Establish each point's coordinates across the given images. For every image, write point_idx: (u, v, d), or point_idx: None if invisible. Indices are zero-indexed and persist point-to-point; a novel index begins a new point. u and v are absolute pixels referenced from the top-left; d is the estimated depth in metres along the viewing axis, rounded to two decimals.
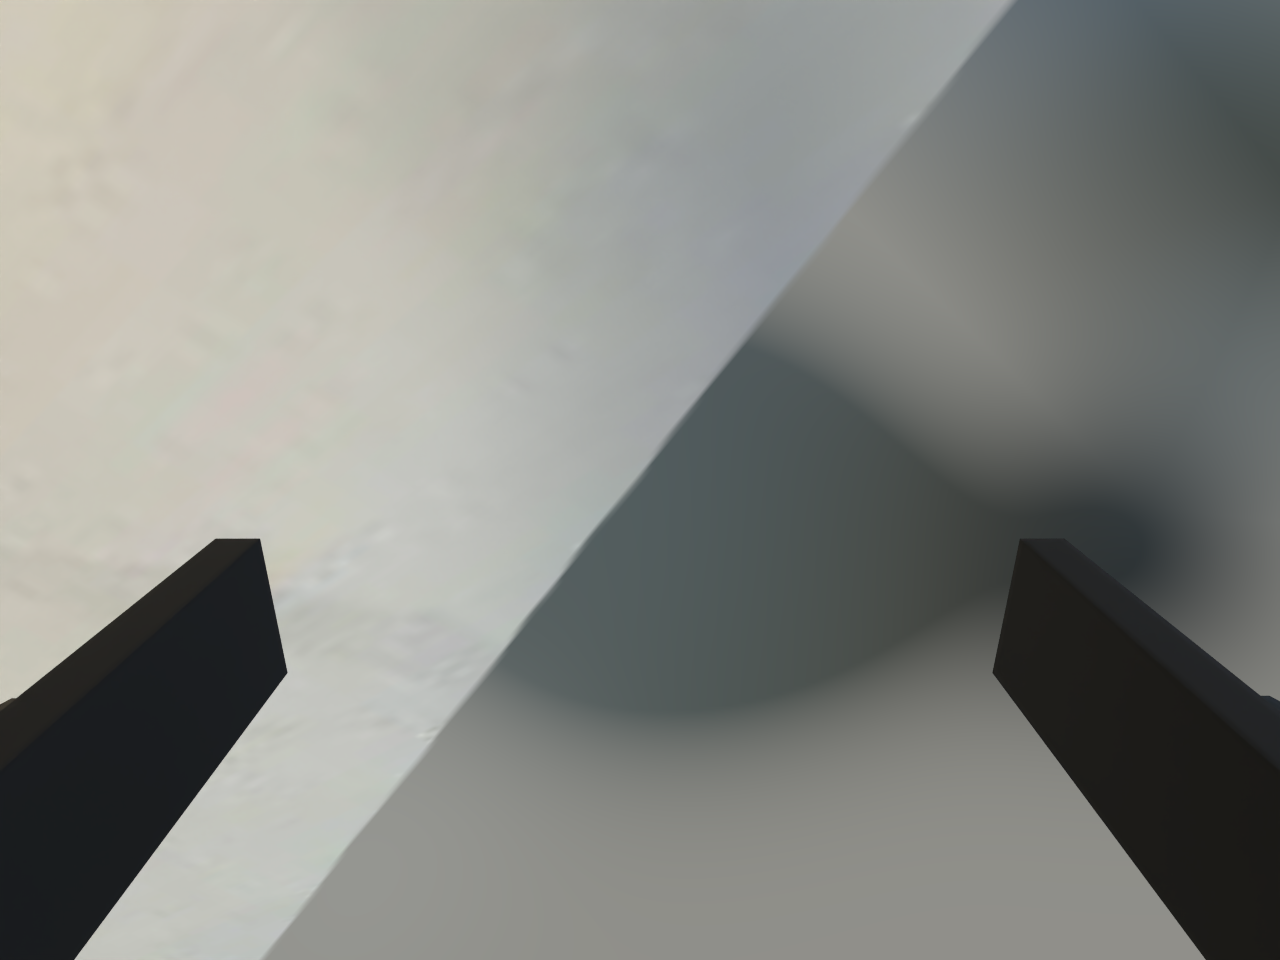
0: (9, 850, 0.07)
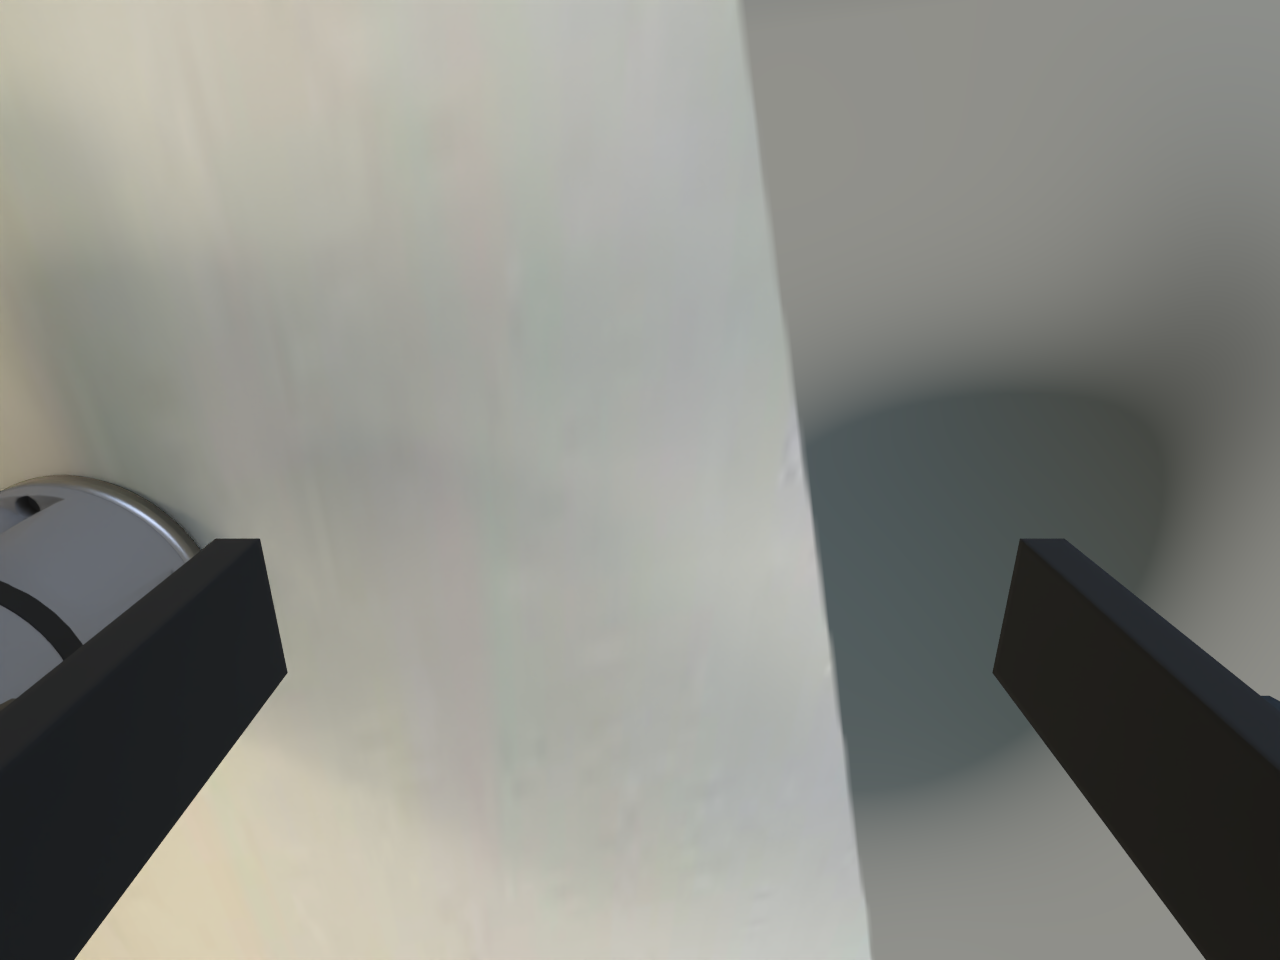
0: (9, 850, 0.07)
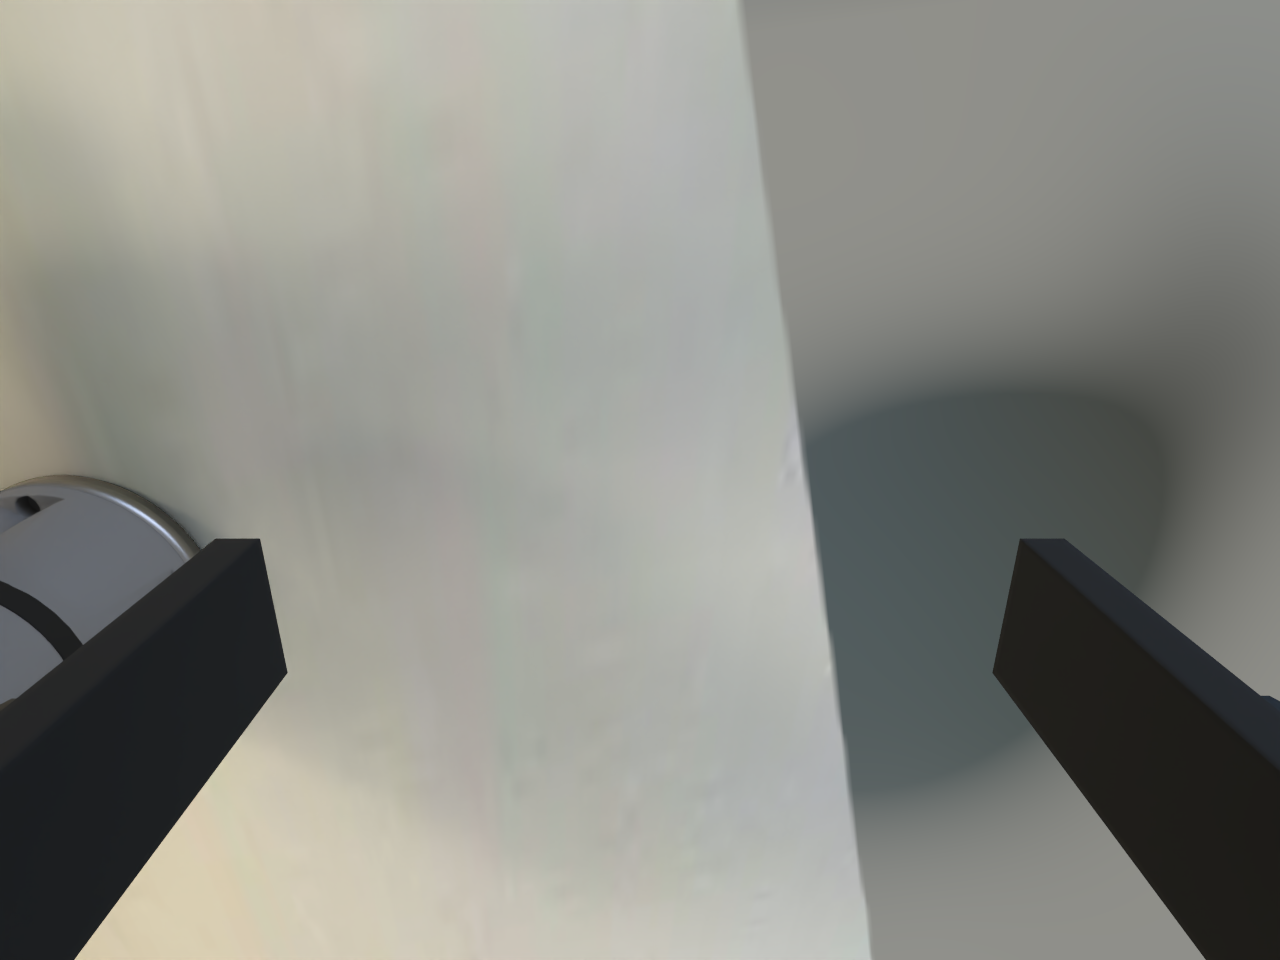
0: (9, 850, 0.07)
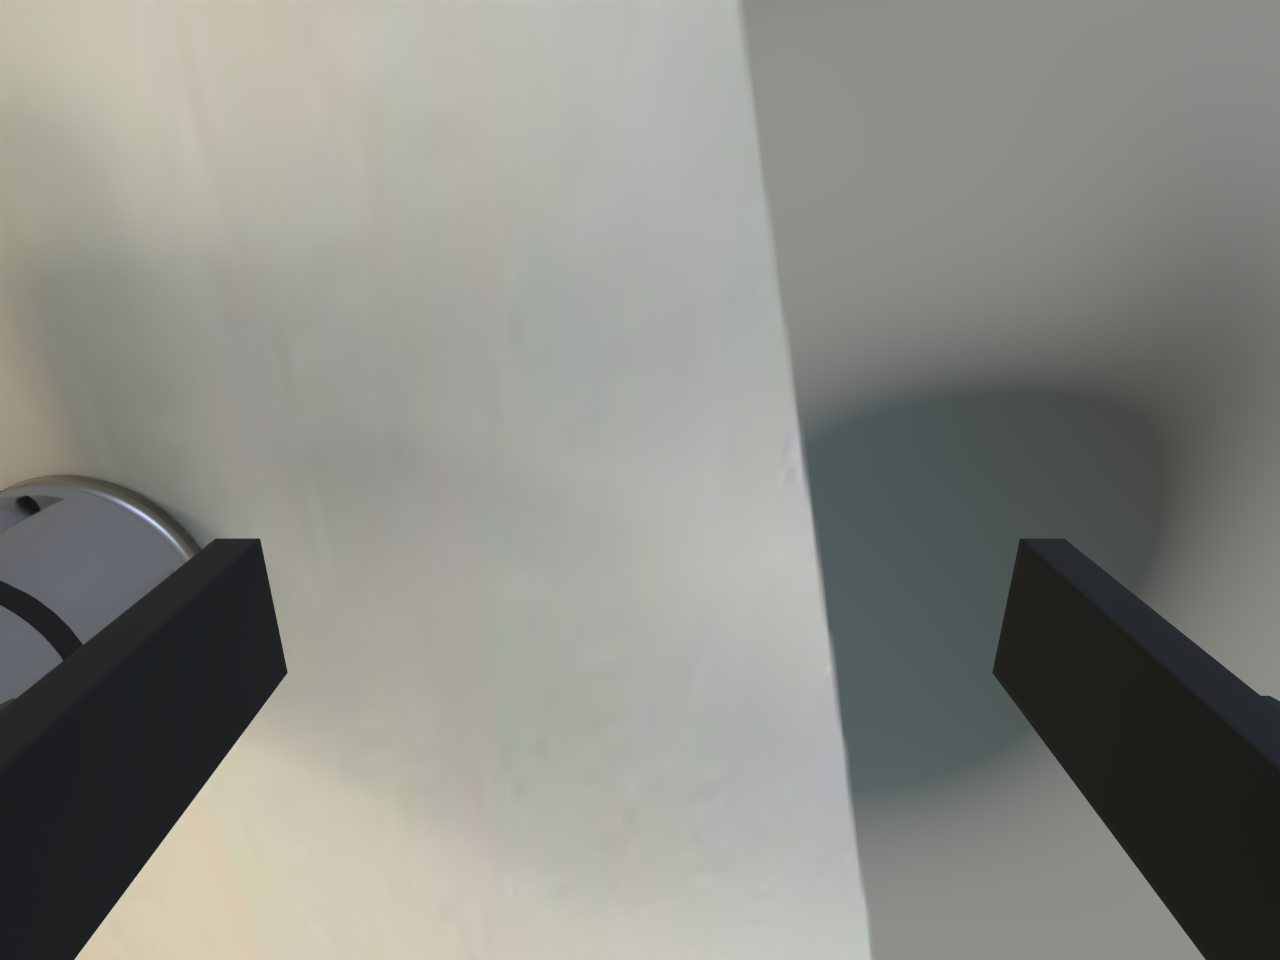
0: (9, 850, 0.07)
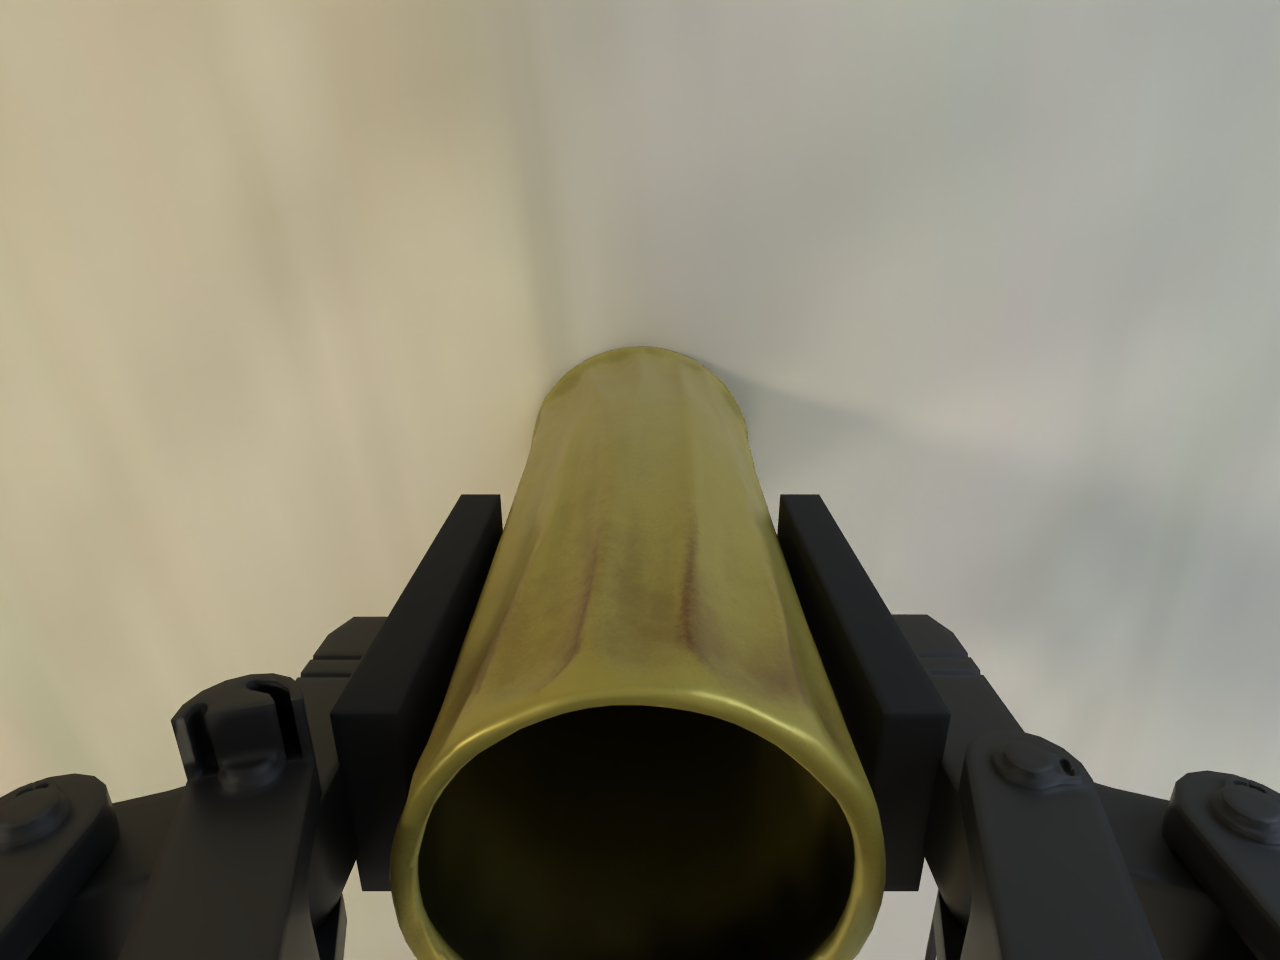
0: (426, 721, 0.09)
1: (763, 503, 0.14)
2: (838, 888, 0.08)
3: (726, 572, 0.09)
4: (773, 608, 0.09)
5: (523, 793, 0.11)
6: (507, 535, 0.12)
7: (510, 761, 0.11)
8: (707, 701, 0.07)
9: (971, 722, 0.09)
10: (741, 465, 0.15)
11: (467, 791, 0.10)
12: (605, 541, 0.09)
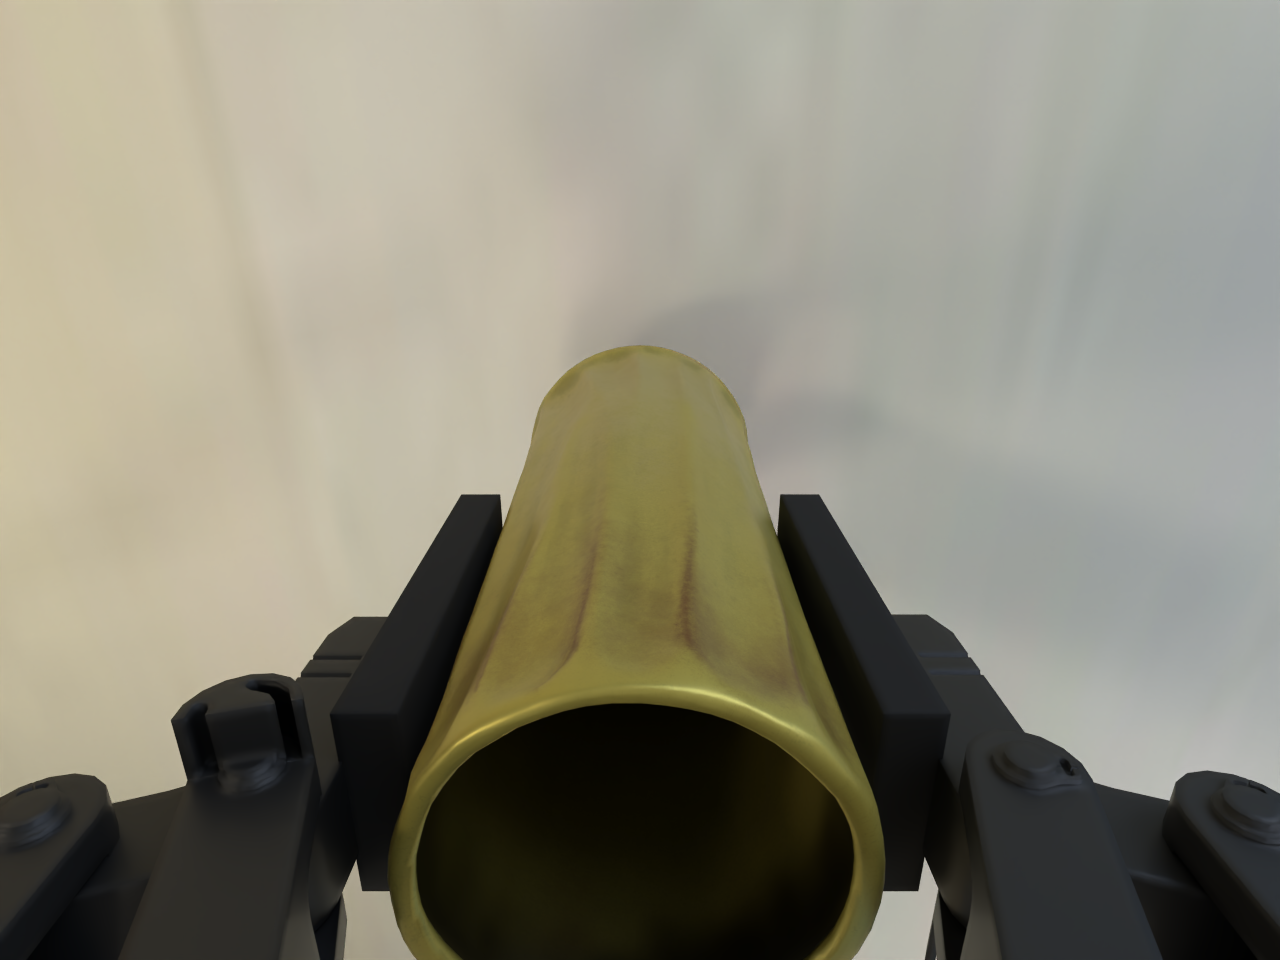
0: (425, 721, 0.09)
1: (763, 502, 0.14)
2: (838, 886, 0.08)
3: (725, 570, 0.09)
4: (772, 606, 0.09)
5: (522, 793, 0.11)
6: (506, 534, 0.12)
7: (509, 759, 0.11)
8: (706, 699, 0.07)
9: (971, 723, 0.09)
10: (741, 464, 0.15)
11: (466, 790, 0.10)
12: (603, 539, 0.09)
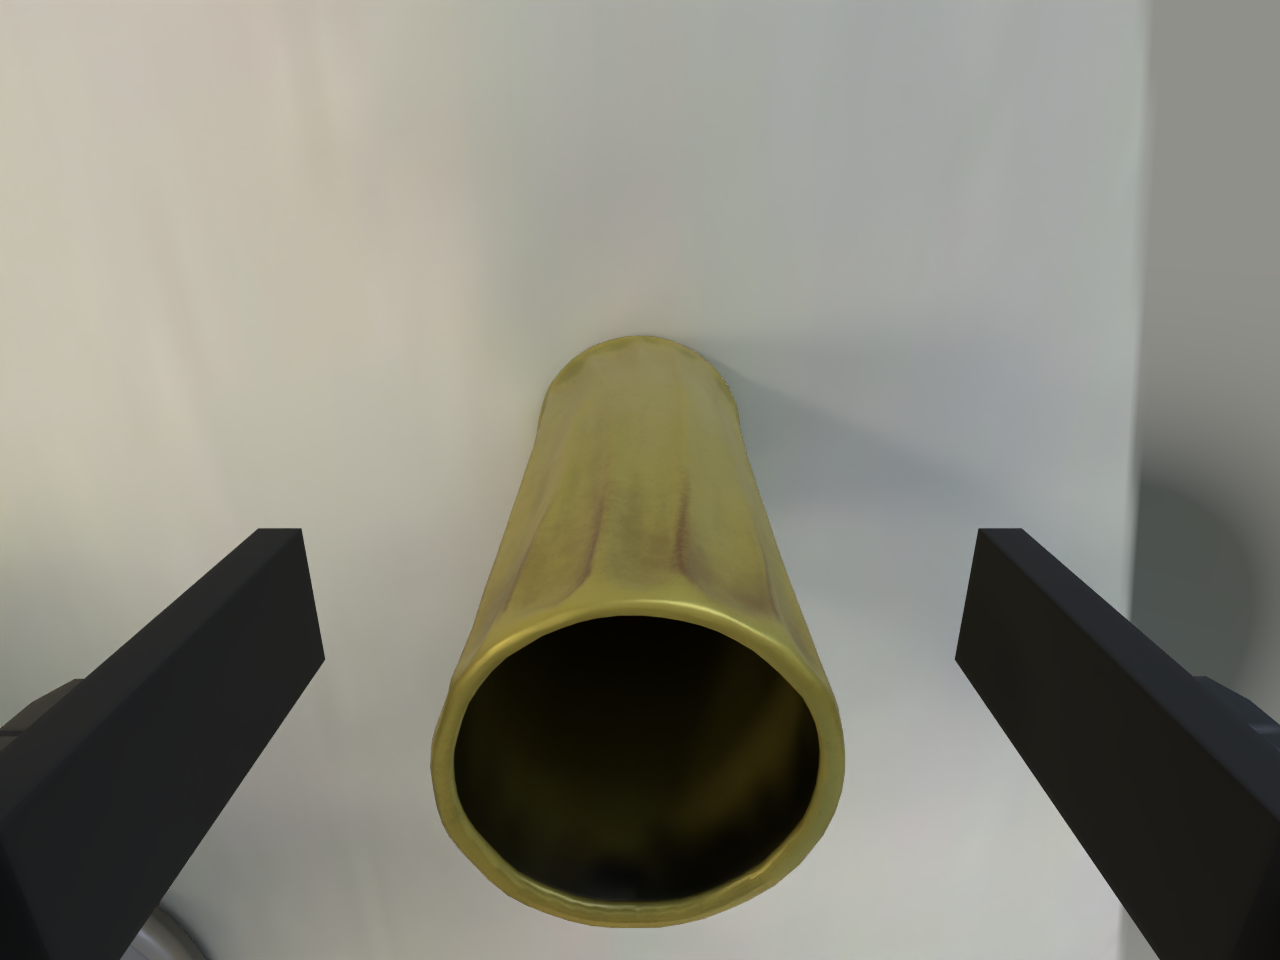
0: (88, 819, 0.08)
1: (751, 475, 0.16)
2: (808, 783, 0.10)
3: (714, 522, 0.11)
4: (754, 552, 0.11)
5: (536, 722, 0.12)
6: (521, 499, 0.14)
7: (524, 694, 0.13)
8: (696, 611, 0.08)
9: None
10: (731, 441, 0.17)
11: (489, 712, 0.11)
12: (609, 494, 0.11)
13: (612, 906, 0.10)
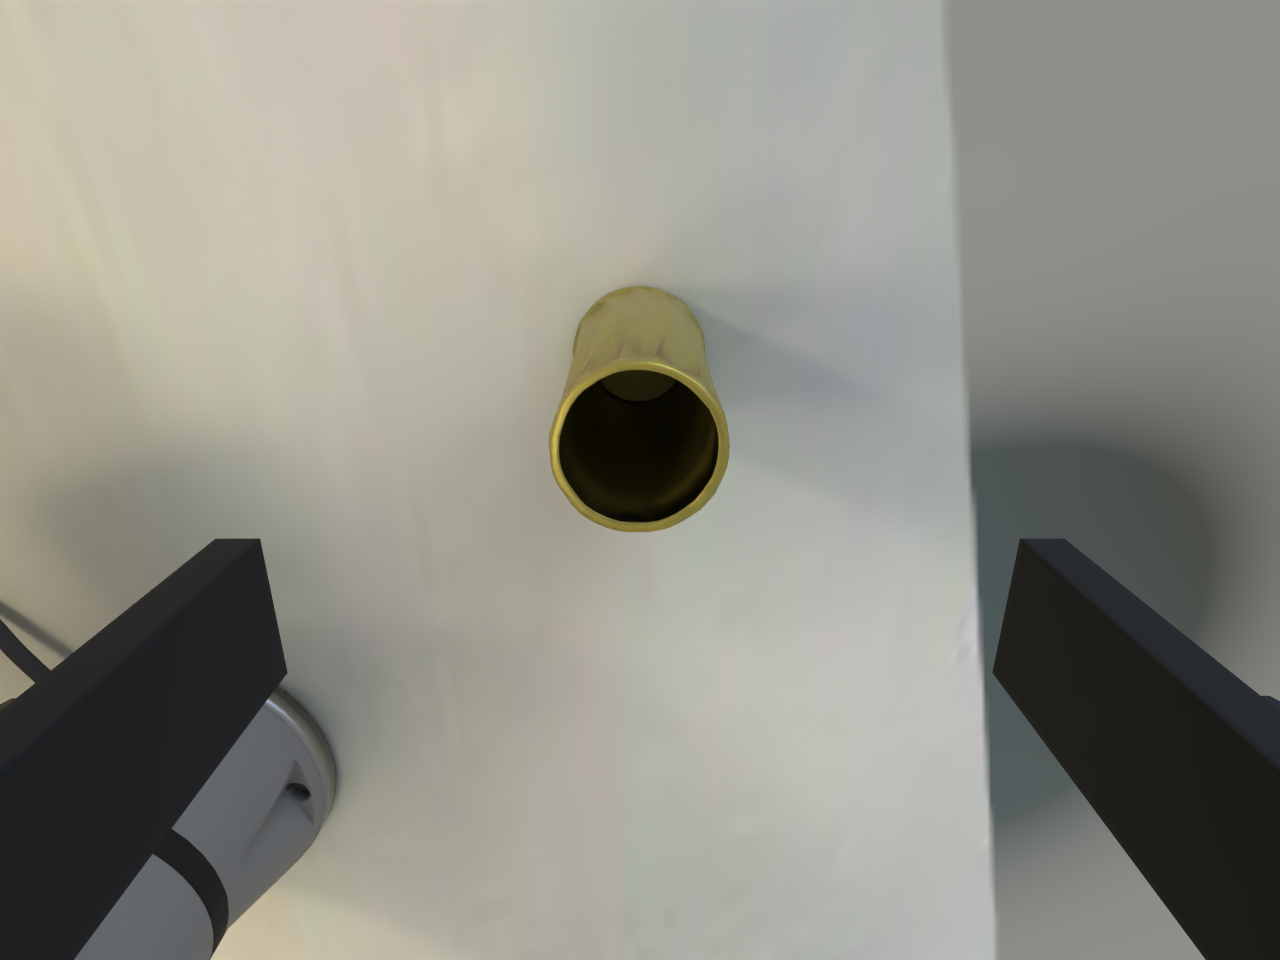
0: (9, 852, 0.07)
1: (703, 356, 0.28)
2: (716, 462, 0.22)
3: (676, 354, 0.23)
4: (694, 365, 0.23)
5: (587, 466, 0.24)
6: (576, 360, 0.26)
7: (580, 453, 0.24)
8: (663, 366, 0.20)
9: None
10: (693, 340, 0.28)
11: (567, 447, 0.23)
12: (625, 340, 0.23)
13: (628, 522, 0.22)
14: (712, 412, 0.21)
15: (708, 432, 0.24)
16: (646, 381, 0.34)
